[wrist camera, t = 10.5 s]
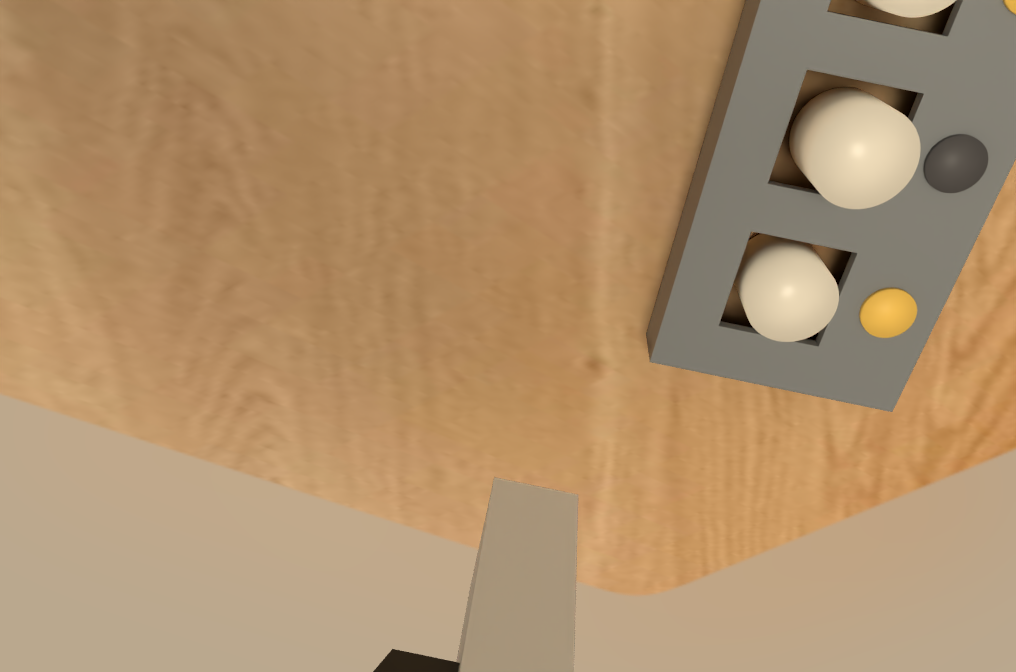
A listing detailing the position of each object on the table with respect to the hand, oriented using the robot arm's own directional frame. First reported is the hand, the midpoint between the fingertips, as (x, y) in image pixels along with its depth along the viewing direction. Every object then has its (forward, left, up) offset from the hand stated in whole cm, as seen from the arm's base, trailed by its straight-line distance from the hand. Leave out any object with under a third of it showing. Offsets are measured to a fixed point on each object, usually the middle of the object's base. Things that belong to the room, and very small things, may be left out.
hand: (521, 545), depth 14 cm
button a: (+11, -3, -26) cm, 28 cm away
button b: (+11, +4, -24) cm, 27 cm away
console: (+12, +4, -26) cm, 29 cm away
